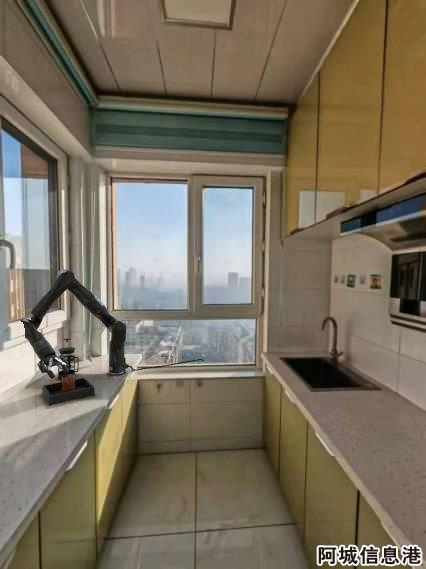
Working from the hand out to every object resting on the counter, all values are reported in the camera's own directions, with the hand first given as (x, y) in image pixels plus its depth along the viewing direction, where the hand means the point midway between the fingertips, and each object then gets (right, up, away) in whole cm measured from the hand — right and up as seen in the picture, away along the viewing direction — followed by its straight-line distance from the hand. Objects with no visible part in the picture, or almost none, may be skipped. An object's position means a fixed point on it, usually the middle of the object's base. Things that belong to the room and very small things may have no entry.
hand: (60, 374), depth 143 cm
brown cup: (+4, -9, -1) cm, 10 cm away
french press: (-9, -10, +25) cm, 28 cm away
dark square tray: (+4, -10, -1) cm, 11 cm away
